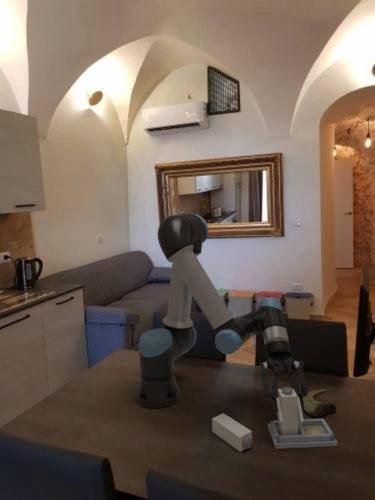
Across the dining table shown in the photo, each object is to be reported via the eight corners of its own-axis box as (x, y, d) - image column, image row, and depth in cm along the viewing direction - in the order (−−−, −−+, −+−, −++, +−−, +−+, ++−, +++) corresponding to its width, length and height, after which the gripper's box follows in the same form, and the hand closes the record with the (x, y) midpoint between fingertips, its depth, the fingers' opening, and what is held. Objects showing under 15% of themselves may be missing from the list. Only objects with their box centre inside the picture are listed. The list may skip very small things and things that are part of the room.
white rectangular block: (212, 432, 116) (212, 418, 116) (223, 427, 119) (223, 413, 118) (242, 454, 106) (242, 439, 105) (254, 447, 108) (254, 432, 108)
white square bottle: (282, 436, 110) (281, 393, 108) (278, 427, 114) (277, 385, 112) (298, 436, 110) (297, 392, 108) (293, 426, 114) (293, 385, 113)
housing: (275, 448, 107) (275, 439, 107) (267, 427, 117) (267, 419, 117) (337, 446, 107) (337, 437, 107) (324, 425, 117) (324, 417, 117)
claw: (340, 423, 119) (340, 412, 118) (305, 422, 120) (305, 412, 119) (325, 392, 138) (325, 383, 138) (295, 392, 139) (295, 383, 139)
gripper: (302, 347, 125) (320, 425, 111) (247, 350, 125) (257, 427, 111) (308, 337, 119) (327, 418, 105) (249, 340, 119) (260, 420, 105)
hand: (291, 422), depth 108 cm, fingers open, 5 cm apart
